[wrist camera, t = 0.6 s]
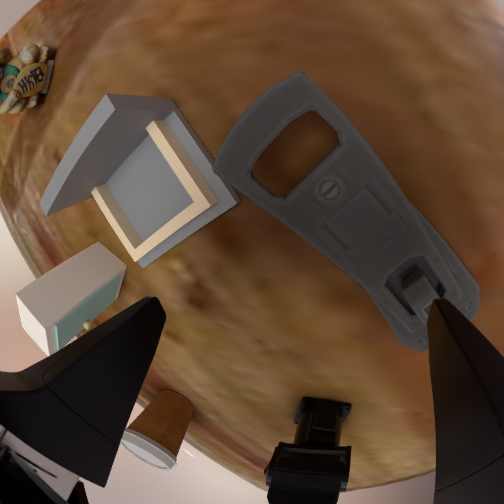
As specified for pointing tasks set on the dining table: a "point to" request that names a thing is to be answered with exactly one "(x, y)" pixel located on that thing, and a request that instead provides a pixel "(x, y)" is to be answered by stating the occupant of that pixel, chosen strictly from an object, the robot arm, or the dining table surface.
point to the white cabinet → (70, 297)
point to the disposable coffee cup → (159, 430)
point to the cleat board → (141, 174)
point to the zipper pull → (351, 212)
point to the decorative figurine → (23, 77)
